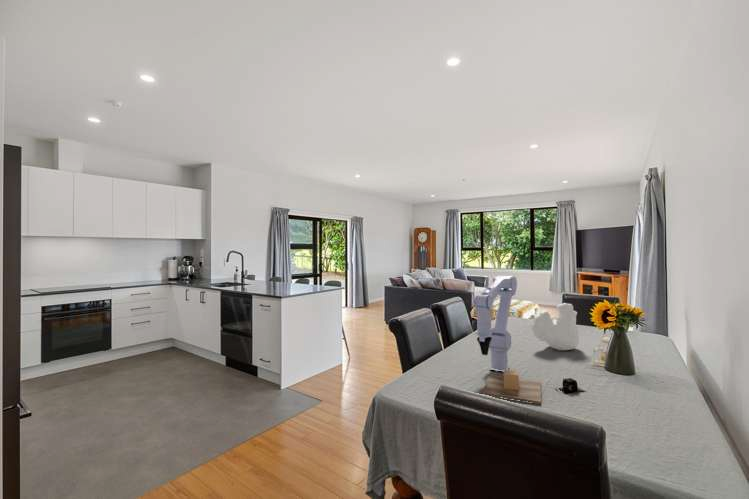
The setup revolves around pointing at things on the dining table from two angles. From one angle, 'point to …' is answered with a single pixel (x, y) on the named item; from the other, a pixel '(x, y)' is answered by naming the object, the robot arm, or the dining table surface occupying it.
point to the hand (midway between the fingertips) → (484, 354)
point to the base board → (526, 392)
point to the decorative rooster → (557, 328)
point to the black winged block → (570, 386)
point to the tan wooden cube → (511, 379)
